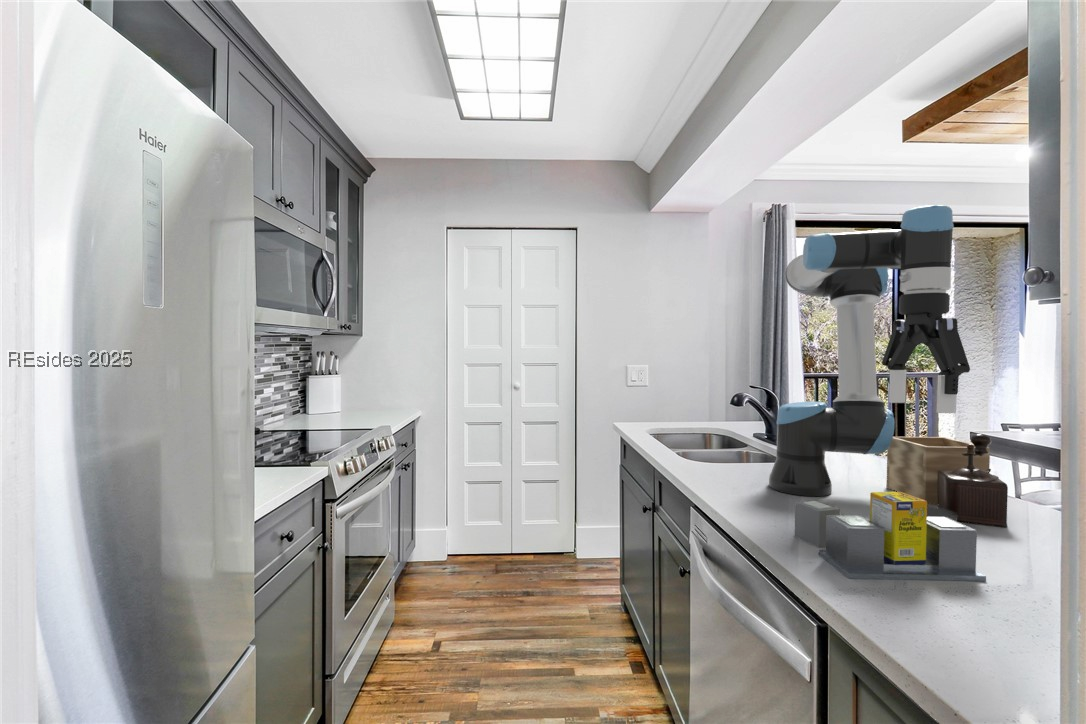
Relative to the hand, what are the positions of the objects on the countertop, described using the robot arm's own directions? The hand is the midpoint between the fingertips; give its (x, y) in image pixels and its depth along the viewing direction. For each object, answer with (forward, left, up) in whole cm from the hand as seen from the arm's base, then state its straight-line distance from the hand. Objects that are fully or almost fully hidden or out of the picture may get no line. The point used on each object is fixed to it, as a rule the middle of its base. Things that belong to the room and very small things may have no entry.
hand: (919, 407), depth 97 cm
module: (-4, -16, -27) cm, 32 cm away
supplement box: (+7, -8, -26) cm, 28 cm away
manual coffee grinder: (-22, +27, -27) cm, 44 cm away
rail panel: (+8, -8, -27) cm, 29 cm away
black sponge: (-12, +9, -28) cm, 32 cm away
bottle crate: (-37, +30, -27) cm, 55 cm away
